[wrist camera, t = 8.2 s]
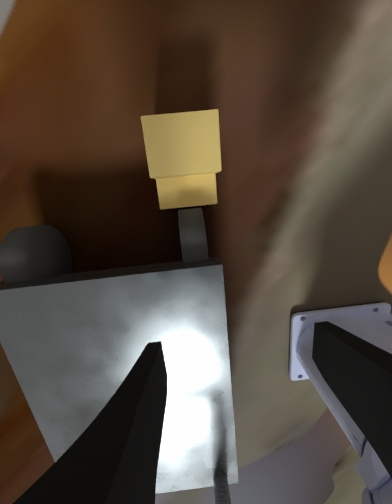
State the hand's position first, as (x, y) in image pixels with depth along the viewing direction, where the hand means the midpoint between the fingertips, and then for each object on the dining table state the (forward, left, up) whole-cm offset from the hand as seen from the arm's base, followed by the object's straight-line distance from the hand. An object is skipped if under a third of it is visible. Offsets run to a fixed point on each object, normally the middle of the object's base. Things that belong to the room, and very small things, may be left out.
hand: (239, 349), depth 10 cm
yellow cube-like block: (+1, -9, -10) cm, 13 cm away
